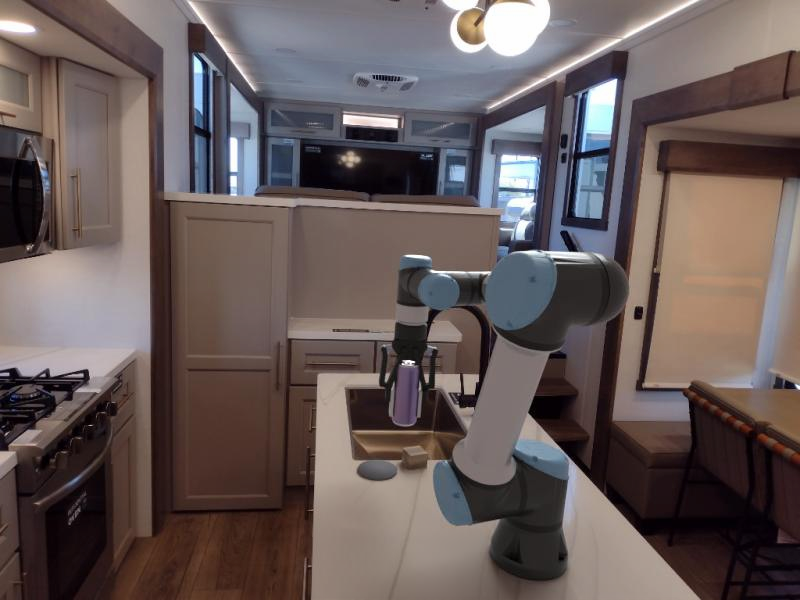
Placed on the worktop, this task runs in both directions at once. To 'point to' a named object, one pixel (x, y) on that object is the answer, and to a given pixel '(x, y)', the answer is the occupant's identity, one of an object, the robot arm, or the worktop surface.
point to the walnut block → (414, 457)
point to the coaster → (377, 470)
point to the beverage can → (406, 393)
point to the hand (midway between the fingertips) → (404, 414)
